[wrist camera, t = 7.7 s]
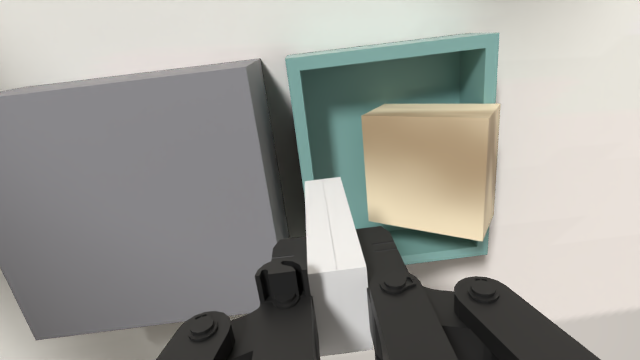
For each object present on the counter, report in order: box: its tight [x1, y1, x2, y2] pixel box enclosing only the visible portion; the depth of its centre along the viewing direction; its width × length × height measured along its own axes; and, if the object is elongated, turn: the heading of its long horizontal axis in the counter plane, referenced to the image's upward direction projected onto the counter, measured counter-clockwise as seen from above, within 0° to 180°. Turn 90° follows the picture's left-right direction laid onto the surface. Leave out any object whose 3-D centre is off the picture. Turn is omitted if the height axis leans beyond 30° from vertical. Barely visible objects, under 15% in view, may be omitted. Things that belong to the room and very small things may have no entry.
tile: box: [361, 104, 500, 242], centre depth 20 cm, size 6×6×3 cm
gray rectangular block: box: [0, 59, 289, 340], centre depth 20 cm, size 12×13×6 cm
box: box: [285, 33, 499, 265], centre depth 21 cm, size 12×10×4 cm
